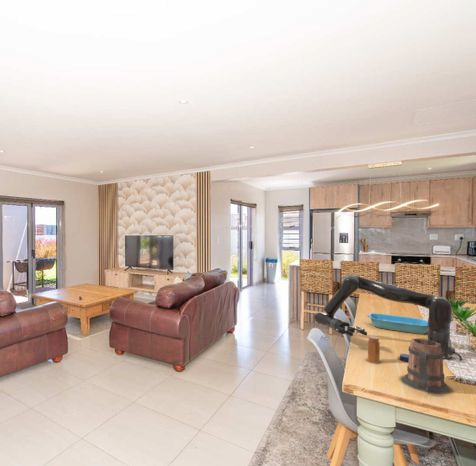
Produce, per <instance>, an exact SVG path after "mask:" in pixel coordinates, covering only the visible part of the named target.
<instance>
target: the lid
mask: <svg viewBox="0 0 476 466" xmlns="http://www.w3.org/2000/svg"><path fill="white" fill-rule="evenodd" d="M399 360H400V361H403V362H406V363H409V353H408V354H407V353H400V354H399Z"/></svg>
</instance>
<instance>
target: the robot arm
mask: <svg viewBox="0 0 476 466" xmlns="http://www.w3.org/2000/svg"><path fill="white" fill-rule="evenodd" d="M341 283H342V284H341V285H340V287H339V290H338V291H337V292H336V294H334V295H333V296H332V297H331V298H330V299H329V300H328V302H327V303H326V304H325V306H324V307H323V311H324V312H325V313H324V312H320V311H319V312H316V313H314V316H313V320H314V321H315V322H316V323H318V324H321V325H323V326H327V327H328V328H330V329H332V330H334V331H335V332H337V333H339V334H341V335H348V336H350V337H353V336H354V334H356V335H357V334H361V335H363V336H365V337H366V336H368V332H367V331H366V329H365V328H363V327H361V326H357V325H355V326H353V325H351V324H350V323H349V322H347V321H345V320H342V319H339V318H336V317H335V315H336V313H337V312H338V311H339V309H340V308H341V307H342V305H343V304H344V303H345V302H346V300H347V299H348V298H349V297H350V296H351V295H352V294H354V293H355V292H356V291H357V290H363V291H367V292H369V293H372V294H374V295H376V296H377V297H380V298H382V299H385V300H388V301H392V302H396V303H401V304H408V305H409V304H410V305H417V306H419V307H423V308H425V309H428V319H427V321H428V331H427V340H431V341H434V342H437V343H440V344H441V349H442V352H443V359H446V360H449V359H450V358H451V357H452V356H454V355H456V356H458V358H459V361H460V362H463V357H462V356H461V354H459V353H457V352H456V348H454V347H452V340H451V323H452V313H453V312H452V311H453V310H452V304H451V303H450V301H448V299H446V298H445V297H443V296H440V295H434V294H428V293H422V292H418V291H414V290H411V289H408V288H404V287H401V286H399V285H398V286H397V285H394V284H389V283H386V282H381V281H377V280H372V279H368V278H366V277H362V276H359V275H357V274H353V273H352V274H351V273H350V274H346V275H345V276H343V278H342V282H341Z"/></svg>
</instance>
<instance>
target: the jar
mask: <svg viewBox="0 0 476 466" xmlns="http://www.w3.org/2000/svg"><path fill="white" fill-rule="evenodd" d="M380 344H381V343H380V338H379V337H377V336H372V335H371V336H370V335H369V336H368V340H367V361H368V362H370V363H373V364H379V363H380V357H381V355H380V354H381V351H380V350H381V349H380V348H381V347H380Z"/></svg>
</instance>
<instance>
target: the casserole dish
mask: <svg viewBox="0 0 476 466" xmlns="http://www.w3.org/2000/svg"><path fill="white" fill-rule="evenodd" d="M366 317H368V318H370V321H371V323H372V325H373V326H374V327H376V328H379V329H383V330H389V331H397V332H403V333H409V334H419V335H424V334H427V333H428V319H424V318H417V317H412V316H411V317H409V316H402V315H395V314H387V313H379V312H371V313H367V314H366Z"/></svg>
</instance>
